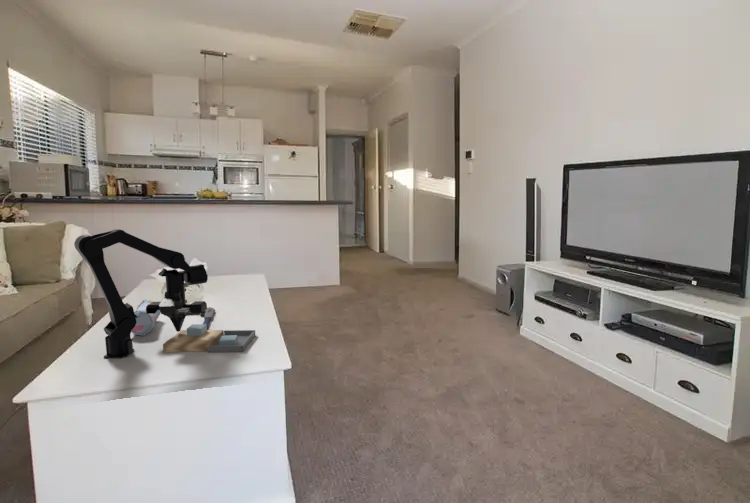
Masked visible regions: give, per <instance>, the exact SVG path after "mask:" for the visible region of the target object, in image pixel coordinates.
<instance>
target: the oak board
mask: <svg viewBox="0 0 750 503" xmlns="http://www.w3.org/2000/svg"><path fill="white" fill-rule="evenodd" d="M224 331H225V329H212V330H211V329H207V332H205V333H204V334H203V335H202V336H187V329H185V330H183V329H182V330H180V331H179V332H177V333H176V334H175V335H173V336H172V337H170V338H169V339H168V340H166V341H165V342H164V343H162V349H163V352H165V353H167V352H208V351H209V347H208V346H214V345H215V344H216V343H217V342H218V341H219V340H220V338H221V337H222V336H224Z"/></svg>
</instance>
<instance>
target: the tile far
mask: <svg viewBox="0 0 750 503" xmlns="http://www.w3.org/2000/svg"><path fill="white" fill-rule="evenodd" d="M186 330H187V336H202V335H203V334H204V333H205V332H207V330H208V329H207V324H203V323H202V324H200V323H199V324H198V323H197V324H195V323H194V324H191V325H190V326H188V327H187V328H186Z"/></svg>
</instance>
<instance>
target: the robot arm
mask: <svg viewBox="0 0 750 503" xmlns="http://www.w3.org/2000/svg"><path fill="white" fill-rule="evenodd" d="M117 244H122V245H124V246H126V247H129V248H131V249H134V250H136V251H139V252H141V253H143V254H146V255H149V256H151V257H152V258H153V259H155V260H156V261H157V262H159V263H161V264H162V265H164V266H165V267H168V268H170V269H168V270H167V268H162V270H161V271H159V273H158V276H160V277H162V278H163V277H165V288H166V290H165V292H164V297H163V299H162V300H161V301H154V302H152V303H151V304H149V305H147V307H146V313H147V314H152V313H156V312H157V311H158V310H160V315H163V316H164V317H165V316H166V317H168V318H169V320H170V322H171V323H172V325H173V328H174V329H175V330H176V332H177V333H178V332H180V331H181V329H182V327H183V324H184V321H185V319H186V316H188V315H187V313H189V312H191V313H202V312H203V311H204V310H206V309H207V308H208V306H207V304H208V303H207V302H206V301H205V300H202V301H201V300H198V301H197V300H196V301H195V300H194V301H193V302H192V303H188V299H186V292H187V288H185V284H187V285H188V286H194V285H200V284H206V283H207V282H208V273H207V269H206V268H205V264H202V263H201V264H200V263H199V264H196V265H190V264H189V263H188V262H187V261H186V259H185V255H184V254H183V253H182V252H179V251H176V250H173V249H172V250H171V249H168V248H164V247H160V246H158V245H155V244H153V243H151V242H148V241H146V240H144V239H142V238H139V237H137V236H134V235H133V234H130V233H127V232H126V231H125V230H123V229H120V228H119V229H118V228H114V229H112V230H108V231H105V232H100V233H96V234H93V235H90V234H82V235H79V236H78V237H77V238H76V239H75V241H74V248H75V250H76V251H77V252H78V253H79V255H80V257H82V259H83V260H84V261H85V262H86V264H87V265H88V266H89V267H90V270H91V272H92V274H93V276H94V278H95V281H96V283H97V285H98V287H99V289H100V291H101V293H102V295H103V297H104V299H105V302H106V304H107V306H108V314H109V320H110V321H109V322H108V323H107V324H106V325H105V327H103V331H104V332H105V334H106V336H105V337H104V339H105V340H104V341H105V351H106V354H105V355H103V358H105V359H106V358H108V359H109V358H111V359H113V358H125V357H127V356H128V355H130V354H131V353H133V352H134V351H135V348H134V345H133V339H132V337H131V333H132V332H131V331H132V329H133V328H134V327H135V325H136V323H137V321H136V318H137V316H136V315H135V313H134V312H135V310H134V307H133V306H132V304H130V303H128V302H126V303H124V302H123V299H122V297H121V295H120V293H119V290H118V288H117V286H116V284H115V281H114V280H113V277H112V276H111V272H110V271H109V270H108V269H109V268H108V266H107V265H106V263H105V257H104V256H105V254H104V250H103V249H105V248H109V247H111V246H114V245H117ZM178 269H179V270H180V271H178Z"/></svg>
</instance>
